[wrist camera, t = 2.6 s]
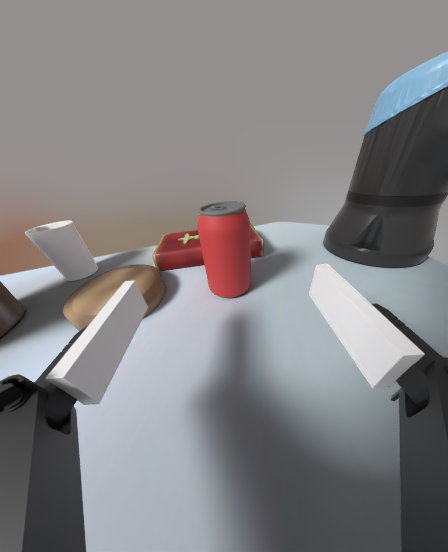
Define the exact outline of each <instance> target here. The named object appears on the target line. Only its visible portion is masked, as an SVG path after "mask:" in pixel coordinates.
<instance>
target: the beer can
mask: <svg viewBox="0 0 448 552" xmlns="http://www.w3.org/2000/svg"><path fill="white" fill-rule="evenodd" d="M245 207H246V206H245V204H244V203H242V202H237V201H226V202H218V203H212V204H208V205H205V206H203V207H201V208H200V209H199V213H200V215H199V220H198V233H199V238H200V243H201V248H202V253H203V259H204V264H205V269H206V274H207V279H208V284H209V288H210V290H211V291H212V292H213V293H214V294H215V295H218V296H220V297H225V298H232V297H237V296H240V295H242V294H243V293H245V292H246V291H247V290H248V289H249V287H250V284H251V250H250V221H249V218H248V215H247V212H246V210H245Z"/></svg>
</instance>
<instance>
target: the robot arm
mask: <svg viewBox="0 0 448 552" xmlns="http://www.w3.org/2000/svg"><path fill="white" fill-rule="evenodd" d="M364 136H365V137H364V140H363V143H362V147H361V150H360V154H359V157H358V160H357V164H356V167H355V171H354V174H353V178H352V180H351V184H350V187H349V191H348V194H347V197H346V200H345V203H344V205H343V207H342V208H341V210H340V211H339V213H338V214H337V216H336V218H335V219H334V221H333V222H332V224H331V225H330V227H329V228H328V229H327V231H326V234H325V237H324V241H323V244H324V246H325V248H326V249H327V250H328V251H330V252H331V253H333V254H335V255H337V256H339V257H341V258H344V259H346V260H349V261H353V262H356V263H361V264H365V265H371V266H378V267H409V266H414V265H418V264H420V263H422V262H424V261H425V259H426V258H427V256H428V255H429V253H430V252H431V250H432V249H433V246H434V240H433V238H434V235H435V231H436V226H437V221H438V215H439V210H440V207H441V205H442V204H443V202H444V200H445V199H446V197H447V195H448V52H446V53H444V54H442V55H440V56H438V57H436V58H433V59H431V60H429V61H427V62H425V63H423V64H421V65H419V66H417V67H416V68H414V69H412V70H410V71H409V72H407V73H405V74H404V75H402V76H401V77H399V78H398V79H396V80H395V81H393V82H392V83H391V84H390V85H389V86H388V87H387V88H386V89H385V90H384V91H383V92H382V93H381V95H380V96H379V98H378V99H377V101H376V104H375V106H374V109H373V112H372V115H371V118H370V121H369V123H368V126H367V129H366V130H365V131H364ZM309 295H310V297H311V298H312V300H313V301H314V303H315V304H316V306H317V307H318V309H319V310H320V312H321V313H322V315H323V316H324V317H325V319H326V320H327V322H328V323H329V325H330V326H331V328H332V329H333V331H334V332H335V334H336V335H337V337H338V338H339V340H340V341H341V343H342V344H343V346H344V347H345V349H346V350H347V351H348V353H349V354H350V356H351V357H352V359H353V360H354V362H355V363H356V365H357V366H358V368H359V369H360V371H361V372H362V374H363V375H364V377H365V378H366V380H367V381H368V383H369V384H370V385H371V387H372V388H384V387H390V386H391V385H392V384H393V383H394V382H396V381H397V383H398V384H399V385H400V386H401V387H402V388H401V389H400V390H399V391H397V392H396V393H395V394H394V395H393V396H392V398H391V400H392V401H395V400H397V399H398V398H399V416H400V476H401V536H402V552H448V358H443V357H442V356H441V355H439V354H438V353H437V352H436V351H435V350H433V349H432V348H431V347H430V346H429V345H428V344H427V343H425V342H424V341H423V340H422V339H421V338H420V337H419V336H417V335H416V334H415V333H414V332H413V331H412V330H411V329H409V328H408V327H406V326H405V324H404V323H403V322H401V321H400V320H398V318H397V317H396V316H394V315H393V314H392V313H391V312H390V311H389V310H387V309H385V308H384V307H382V306H380V305H378V304H371V303H370V302H368V301H367V300H366V299H365V298H364V297H363V296H362V295H361V294H360V293H359V292H358V291H357V290H356V289H354V288H353V287H352V286H351V285H350V284H349V283H348V282H347V281H346V280H345V279H344V278H343V277H342V276H340V275H339V274H338V273H337V272H336V271H335V270H334V269H333V268H332V267H331V266H330V265H329V264H317V265H316V268H315V272H314V276H313V280H312V284H311V288H310V292H309ZM147 309H148V306H147V304H146V302H145V300H144V298H143V296H142V294H141V292H140V290H139V288H138V286H137V284H136V282H135V281H125V282H124V283H123V284H122V285H121V287H120V288H119V289H118V290H117V291H116V293H115V294H114V295H113V296H112V298H111V299H110V300H109V301H108V302H107V304H106V305H105V306H104V307H103V309H102V310H101V311H100V312H99V313H98V315H97V316H96V317H95V318H94V320H93V321H92V322H91V323H90V324H89V326H88V327H84V328H83V329H82V330H81V331H79V332H78V333H77V334H76V335H75V336H74V337H73V338H72V339H71V341H70V342H69V344H68V345H66V346H65V348H64V349H63V350H62V352H60V353H59V355H58V356H57V357H56V358H55V359H54V360H53V362H52V363H51V364H50V365H49V366H48V367H47V369H46V370H45V371H44V372H43V373H42V375H41V376H40V377H39V378H38V379H37V380H36V381H35V382H32V381H30V380H29V379H27V378H25V377H24V376H22V375H19V374H18V375H12V376H10V377H8V378H5V379H3V380H1V381H0V552H86V544H85V529H84V515H83V501H82V487H81V472H80V458H79V444H78V429H77V415H76V409H75V407H73V406H74V404H75V403H76V401H77V400H78V401H79V402H81V403H82V404H84V405H89V404H99V403H100V401H101V399H102V397H103V395H104V393H105V391H106V389H107V387H108V385H109V383H110V381H111V380H112V378H113V376H114V374H115V372H116V370H117V368H118V366H119V364H120V362H121V360H122V358H123V356H124V354H125V352H126V350H127V348H128V346H129V344H130V342H131V340H132V338H133V336H134V334H135V332H136V330H137V328H138V326H139V324H140V322H141V320H142V318H143V316H144V314H145V313H146V311H147Z"/></svg>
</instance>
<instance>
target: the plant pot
mask: <svg viewBox="0 0 448 552" xmlns="http://www.w3.org/2000/svg"><path fill="white" fill-rule="evenodd" d="M24 312H25V310H24V307H23V306H22V305H21V303H20V302H19V301H18V300H17V299H16V298H15V297H14V296H13V295H12V294H11V293H10V292H9V291H8V289H7V288H6V287H5V286H4V285H3V284H2V283H1V282H0V337H1V336H2V335H4V334H5V333H6V332H7V331H9V330H10V329H11V328H12V327H14V326H15V325H16V324H17V322H18V321H19V320H20V319H21V318H22V316H23V314H24Z"/></svg>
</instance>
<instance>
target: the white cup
mask: <svg viewBox="0 0 448 552" xmlns="http://www.w3.org/2000/svg"><path fill="white" fill-rule="evenodd" d="M25 234H26V235H27V236H28V237H29V238H30V239H31V240H32V242H33V243H34V244H35V245H36V246H37V247H38V248H39V249H40V251H41V252H42V253H43V254H44V255H45V256H46V257H47V258H48V259H49V260H50V262H51V263H52V264H53V265H54V266H55V267H56V268H57V269H58V270H59V272H60V273H61V274H62V275H63V276H64V277H65V278H66V279H67V280H68V281H76V280H80V279H83V278H86V277H88V276H90V275H92V274H93V273H95V272H96V271H97V270H98V266H97V264H96V262H95V261H94V259H93V257H92V256H91V254H90V252H89V250H88V248H87V247H86V245H85V243H84V241H83V240H82V238H81V236H80V234H79V232H78V231H77V229H76V227H75V225H74V224H73V222H72V221H61V222H55V223H51V224H46V225H42V226H39V227H35V228H33V229H30V230H28V231H26V232H25Z"/></svg>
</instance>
